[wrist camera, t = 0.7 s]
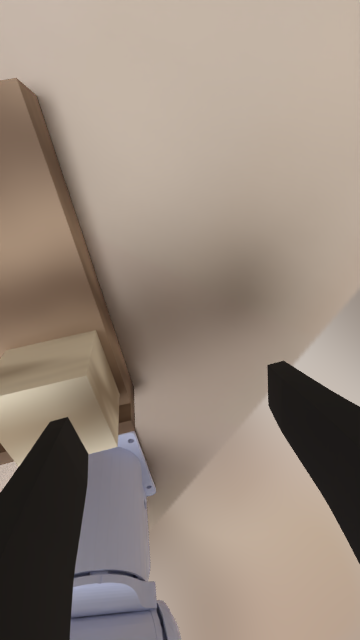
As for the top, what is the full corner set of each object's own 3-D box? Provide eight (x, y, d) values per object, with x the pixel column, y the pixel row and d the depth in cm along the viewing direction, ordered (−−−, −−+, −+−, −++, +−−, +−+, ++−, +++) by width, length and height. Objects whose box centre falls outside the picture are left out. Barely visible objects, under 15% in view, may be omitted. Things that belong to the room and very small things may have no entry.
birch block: (119, 393, 18) (117, 447, 14) (42, 412, 18) (22, 471, 14) (95, 330, 15) (86, 375, 12) (6, 350, 15) (-31, 403, 12)
